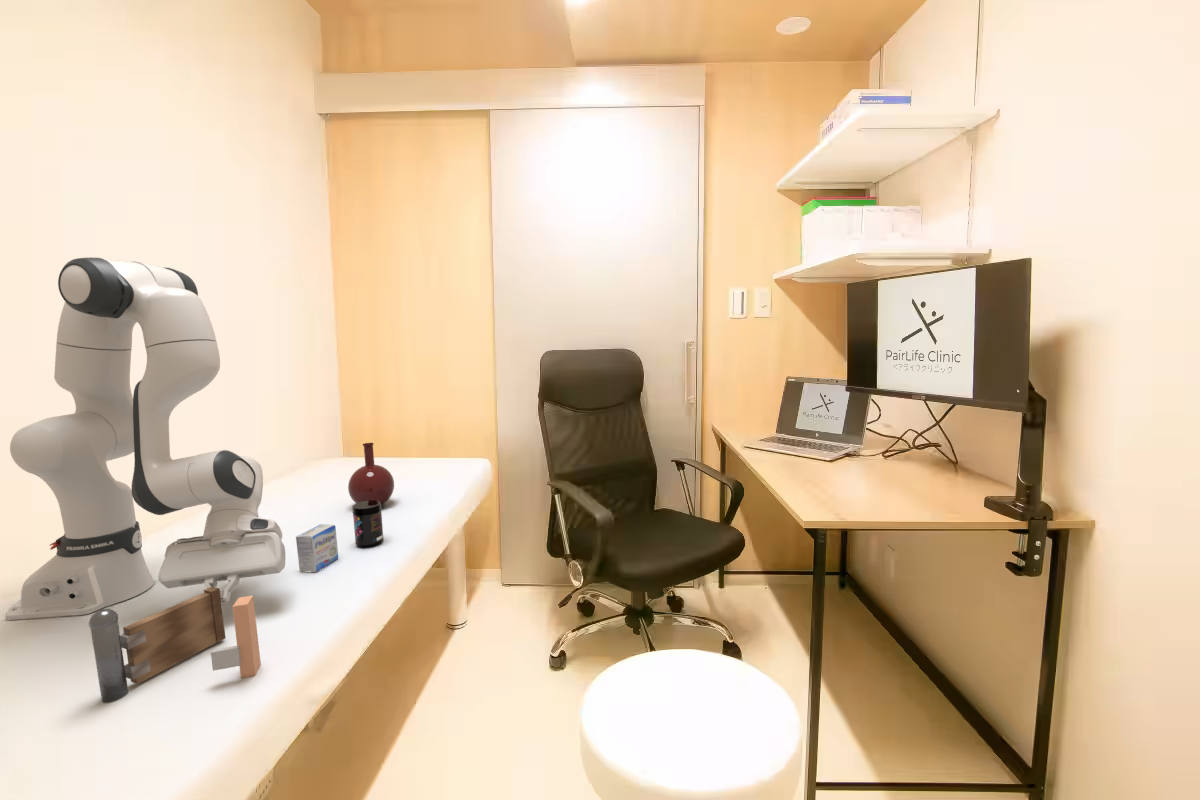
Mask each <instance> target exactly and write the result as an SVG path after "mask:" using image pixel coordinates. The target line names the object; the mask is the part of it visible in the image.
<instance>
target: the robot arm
mask: <svg viewBox="0 0 1200 800" xmlns="http://www.w3.org/2000/svg"><path fill="white" fill-rule="evenodd" d="M57 281H58V282H57V286H58V291H59V294H60V296H61V298H62V299H63V300H64V304H63V307H62V310H61V313H60V317H59V322H58V325H57V326H58V327H57V334H56V345H55V358H54V359H55V361H54V381H55V383H56V384H57V385H58V386H59V387H60V388H62V389H63V390H65V391H67V392H69V393H71V395H72V397H73V400H74V404H75V412H74V413H69V414H64V415H58V416H52V417H47V418H44V419H41V420H38V421H36V422H33V423H30V424H28V425H26V426H23V427H22V428H20V429H18V430H17V431H16V432H15V434H14V435H13V436H12V438H11V440H10V444H9V451H10V452H9V453H10V456H11V458H12V460H13V462H14V463H15V464H16V466H17V467H19V468H20V469H21V470H23V471H25V472H27V473H29V474H32V475H34V476H37V478H39V479H41V480H42V481H44V482H45V483H46V485H47V486H48V487H49V489H51V491H52V492H53V495H54V496H55V498H56V500H57V503H58V508H59V511H60V516H61V520H62V525H63V531H64V534H63V535H62V536H60V537H59V538H57V539H56V540H55V541H54V542H52V543H50V544H49V546H51V547H50V548H49V550H50V551H51V550H53V549H56V554H55V555H54V556H53V557H51V558H50V559H49V560H48V561H46V562H45V563H44V564H42V565H41V566H40V567H39V568H38V569H37V570H35V571H34V572H32V574H31V575H29V576H28V577H27V578H26V579H25V581H24V582H23V583H22V587H21V591H20V592H21V593H20V600H18V601H16V602H15V603H14V604H13V605H12V606H11V607H9V608H8V609H7V611H6V613H5V618H6V619H5V620H7V621H11V620H12V621H13V620H25V619H26V620H27V619H28V620H30V619H39V618H41V619H42V618H53V617H54V618H56V617H71V616H81V615H88V614H92V613H95V612H97V611H99V610H102V609H105V607H108V606H111V605H114V604H117V603H120V602H124V601H127V600H128V599H132V598H134V597H136V596H138V595H141V594H142V593H144V592H145V591H147V590H149V589H150V588H152V587H153V586H154V584H155V579H154V578H153V576H152V574H151V573H150V569H148V566H147V563H146V561H145V557H144V554H143V550H142V547H143V543H142V542H143V540H142V532H141V528H140V523H139V522H138V521H137V519H136V512H135V505H134V504H135V503H136V504H137V505H138V506H139V507H140V508H142V509H143V510H145V511H147V512H149V513H151V514H153V515H156V516H164V515H168V514H170V513H173V512H178V511H180V510H183V509H186V508H192V507H197V506H201V505H207V504H208V505H210V506H211V507H210V511H208V514H207V516H206V520H205V526H204V530H203V535H200V536H192V537H187V538H186V537H182V538H178V539H176V540H175V541H173V542H171V543H170V544H169V545H167V546H166V549H165V554H164V559H163V561H162V564H161V567H160V570H159V572H158V575H157V580H158V582H160V584H161V585H163V586H164V587H165V588H166V589H174V588H182V587H188V586H194V585H203V584H204V586H205V589H207V588H209V587H212V586H213V587H217V586H218V582H222V581H223V582H224V581H227V582H228V583H227V584H226V586H225V587H224V588H223V590H220V596H221V604H222V603H229V602H230V598H231V594H232V593H233V591H235V589H236V588H237V586H238V585H239V584H240V579H245V578H246V579H247V578H254V577H260V576H267V575H274V574H275V575H276V574H280V573H281V572H283V570H284V569H285V568H286V547H285V544H284V542H283V541H282V539H283V532H282V529H281V528H280V526H279V524H278V523H277V522H276V521H275V520H274V519H270V518H264V517H259V516H260V515H259V507H260V506H261V502H262V498H263V488H264V476H263V468H262V466H261V464H260V463H259V461H258V460H256V459H254V458H252V457H250V456H246V455H238V454H237V453H235V452H233V451H231V450H227V449H226V450H225V449H223V450H217V451H210V452H205V453H199V454H197V455H191V456H186V457H181V458H176V459H173V458H172V457H171V450H170V449H171V447H170V445H171V444H170V416H171V414H172V412H173V411H174V410H175V408H176V407H177V406H178V405H179V404H181V402H183V401H185V400H187V399H188V398H190V397H191V396H193V395H195V394H197V393H198V392H200V391H201V390H204V388H206V387H207V386H209V385H210V384H211V382H213V381H214V379H215V378H216V377H217V375H218V373H219V371H220V368H221V358H220V356H221V355H220V351H219V346H218V342H217V338H216V334H215V331H214V328H213V324H212V322H211V319H210V316H209V314H208V311H207V309H206V307H205V305H204V303H203V301H202V299H201V298H200V297H199V292H198V288H197V285H196V283H195V282H194V280H193V278H191V277H190V276H189V275H187V274H185V273H183V272H182V271H179V270H177V269H174V268H171V267H162V266H158V265H154V264H150V263H146V262H140V261H135V260H134V261H129V260H128V261H127V260H117V259H104V258H102V257H80V258H79V257H78V258H74V259H70V260H69V261H68V262H67V263H66V264H64V265H63V267H62V269H61V271H59V275H58V280H57ZM136 324H138V325H139V326H140V328H141V331H142V336H143V341H144V347H145V351H146V366H145V370H144V374H143V376H142V379H140V380H139V381H138V382H137V383H136V384H135V386H134V390H133V394H132V388H131V378H130V377H131V363H132V362H131V359H132V347H133V331H134V327H135V326H136ZM133 453H134V457H133V458H134V464H133V465H134V467H133V474H132V481H131V488H130V486H129V485H128V484H126V483H125V482H121V481H118V480H116V479H115V478H114V477H113V476H112V474H111V473H110V470H109V468H108V465H107V462H109V461H112V460H116V459H120V458H123V457H127V456H129V455H131V454H133ZM134 502H135V503H134Z"/></svg>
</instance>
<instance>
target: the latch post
mask: <svg viewBox="0 0 1200 800" xmlns="http://www.w3.org/2000/svg"><path fill="white" fill-rule="evenodd" d="M254 601H255V600H254V595H248V596H247V595H246V596H241V597H238V598H237V600H236V601H235V602H234V604H233V605H232V613H233V614H232V615H233V621H234V622H233V623H234V630H235V631H234V632H235V638H236V640H235V641H236V645H233V646H226V647H221V648H215V649H211V651H210V659H211V666H212V671H213V672H214V671H219V670H220V671H221V670H224V669H230V668H235V667H239V673H240V678H241V679H242V678H249V677H253V676H256V675H257V673H258V671H259V669H260V667H261V665H262V663H261V662H262V661H261V654H260V645H259V637H258V627H257V618H256V609H255V602H254Z"/></svg>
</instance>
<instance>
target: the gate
mask: <svg viewBox="0 0 1200 800" xmlns="http://www.w3.org/2000/svg"><path fill="white" fill-rule="evenodd" d="M220 591H221V590H220V587H217V586H216V587H213V586H212V587H209V588H205V589H203V592H202V593H199V594H198V595H195V596H193V597H191V598H188V599H185V600H184V601H181V602H179V603H177V604H174V605H172V606H170V607H168V608H165V609H163V610H161V611H158V612H156V613H154V614H151V615H149V616H147V617H144V618H142V619H139V620H138V621H135V622H133V623H130V624H128V625H127V626H124V627H122V629H123V633H122V634H120V639H121V646H122V649H126V657H127V663H126V664H124V666H125V673H126V679H129V680H130V682H131V683H134V684H136V685H138V684H140V683H142V682H143V681H145V680H147V679H150V678H151V677H153V676H156V675H157V674H158V673H159V674H160V673H161V672H162V671H165V670H167V669H169V668H171V667H172V666H174V665H177V664H178V663H180V662H182V661H184V660H186V659H188V658H190V657H192V656H193V655H196V654H197V653H199V652H201V651H204V650H205V649H207V648H208V647H211V646H212V645H215V644H216V643H219V642H221V641H224V640H225V639H226V631H225V630H226V629H225V623H224V621H225V620H224V615H223V614H224V613H223V607H222V603H221V596H220Z"/></svg>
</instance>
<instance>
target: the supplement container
mask: <svg viewBox="0 0 1200 800" xmlns="http://www.w3.org/2000/svg"><path fill="white" fill-rule="evenodd" d="M351 507H352V518H353V519H352V520H353V529H354V541H355V546H356V547H358V548H360V549H367V548H368V549H370V548H375V547H377V546H379V545H381V544H382V543H383V541H384V529H383V527H384V526H383V517H382V516H383V515H382V505H381V502H380V501H375V500H370V501H363V502H359V503H354V504H352V506H351Z"/></svg>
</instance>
